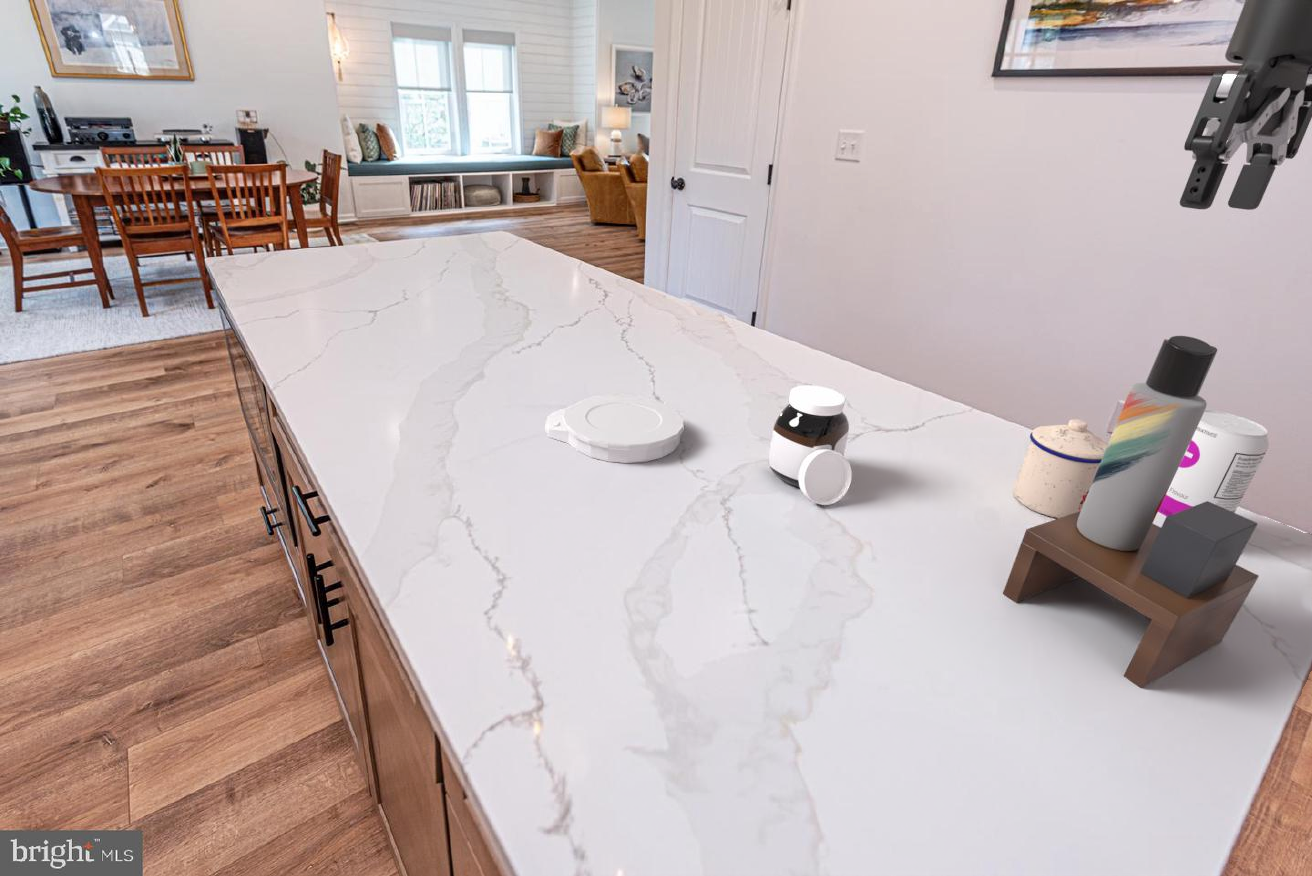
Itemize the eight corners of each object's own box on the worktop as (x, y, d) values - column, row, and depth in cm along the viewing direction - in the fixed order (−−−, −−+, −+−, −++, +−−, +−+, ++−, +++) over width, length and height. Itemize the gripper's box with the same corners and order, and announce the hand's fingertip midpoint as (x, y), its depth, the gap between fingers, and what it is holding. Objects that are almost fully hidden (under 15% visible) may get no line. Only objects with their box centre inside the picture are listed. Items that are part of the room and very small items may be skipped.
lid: (566, 402, 107) (566, 385, 105) (691, 421, 104) (693, 403, 102) (525, 450, 91) (525, 430, 90) (670, 473, 88) (672, 453, 87)
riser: (1082, 561, 77) (1108, 501, 73) (1221, 642, 66) (1259, 575, 62) (1002, 593, 70) (1026, 529, 67) (1141, 688, 59) (1178, 617, 56)
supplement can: (1146, 540, 82) (1198, 427, 75) (1131, 508, 89) (1178, 402, 82) (1226, 558, 79) (1287, 444, 73) (1204, 524, 86) (1258, 416, 80)
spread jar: (800, 454, 96) (814, 377, 91) (871, 486, 89) (891, 405, 84) (747, 480, 88) (759, 397, 83) (821, 517, 81) (839, 429, 76)
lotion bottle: (1132, 527, 68) (1218, 337, 60) (1149, 558, 63) (1245, 356, 55) (1070, 514, 70) (1144, 326, 61) (1081, 543, 65) (1164, 344, 56)
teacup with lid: (1092, 529, 83) (1128, 444, 78) (1011, 509, 86) (1040, 426, 81) (1080, 486, 93) (1110, 409, 88) (1008, 470, 96) (1034, 394, 91)
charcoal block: (1180, 554, 64) (1207, 500, 62) (1228, 578, 61) (1258, 523, 59) (1139, 572, 61) (1166, 516, 59) (1187, 599, 58) (1217, 541, 56)
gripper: (1326, -26, 47) (1225, 215, 54) (1403, 2, 54) (1304, 214, 61) (1208, -15, 53) (1130, 202, 60) (1290, 9, 60) (1211, 202, 67)
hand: (1218, 208), depth 61 cm, fingers open, 8 cm apart
